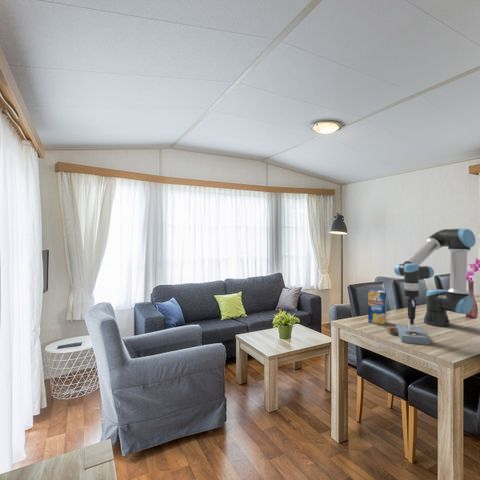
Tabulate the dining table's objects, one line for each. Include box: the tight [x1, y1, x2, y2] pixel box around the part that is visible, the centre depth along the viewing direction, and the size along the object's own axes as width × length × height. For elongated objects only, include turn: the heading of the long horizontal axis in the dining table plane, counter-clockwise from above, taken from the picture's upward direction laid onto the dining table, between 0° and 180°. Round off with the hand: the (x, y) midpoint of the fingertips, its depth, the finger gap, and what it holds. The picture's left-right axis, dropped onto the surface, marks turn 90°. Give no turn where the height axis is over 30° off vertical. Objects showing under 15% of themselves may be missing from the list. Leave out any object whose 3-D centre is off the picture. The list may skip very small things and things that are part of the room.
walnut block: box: [386, 325, 398, 336], centre depth 188 cm, size 4×4×4 cm
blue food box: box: [367, 289, 387, 325], centre depth 212 cm, size 7×11×22 cm, turn 61°
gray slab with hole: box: [394, 324, 431, 345], centre depth 181 cm, size 22×14×4 cm, turn 161°
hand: (411, 329), depth 180 cm, fingers closed
